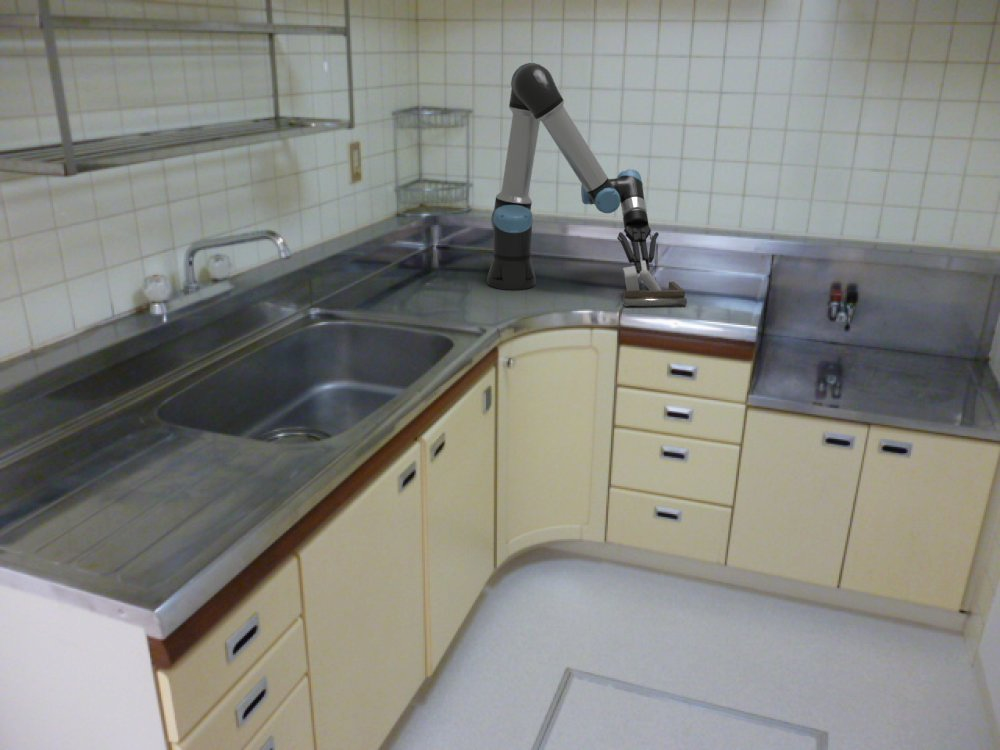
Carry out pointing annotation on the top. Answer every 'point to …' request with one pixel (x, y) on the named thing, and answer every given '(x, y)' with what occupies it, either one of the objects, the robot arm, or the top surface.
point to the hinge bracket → (656, 297)
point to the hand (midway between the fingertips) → (644, 281)
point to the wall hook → (632, 278)
